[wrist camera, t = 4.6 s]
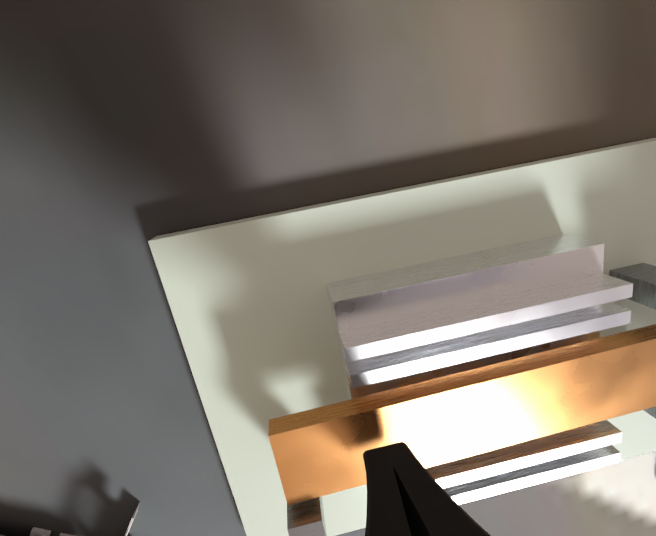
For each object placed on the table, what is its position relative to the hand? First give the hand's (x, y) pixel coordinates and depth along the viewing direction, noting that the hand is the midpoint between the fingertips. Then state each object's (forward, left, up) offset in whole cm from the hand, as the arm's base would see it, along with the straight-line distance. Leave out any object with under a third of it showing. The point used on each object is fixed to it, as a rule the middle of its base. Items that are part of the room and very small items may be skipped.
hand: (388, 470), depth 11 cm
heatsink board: (-4, 0, -5) cm, 7 cm away
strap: (-5, 0, -2) cm, 5 cm away
